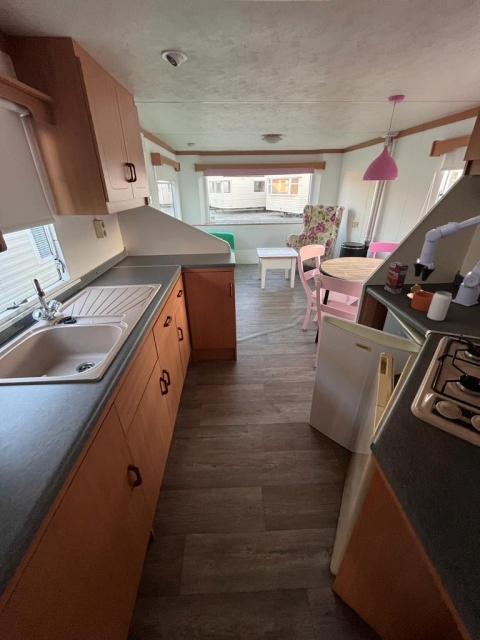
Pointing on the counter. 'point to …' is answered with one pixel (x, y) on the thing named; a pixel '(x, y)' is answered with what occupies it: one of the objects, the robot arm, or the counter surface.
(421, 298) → the pot
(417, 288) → the bun
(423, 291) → the lid
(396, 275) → the supplement box
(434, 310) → the can
